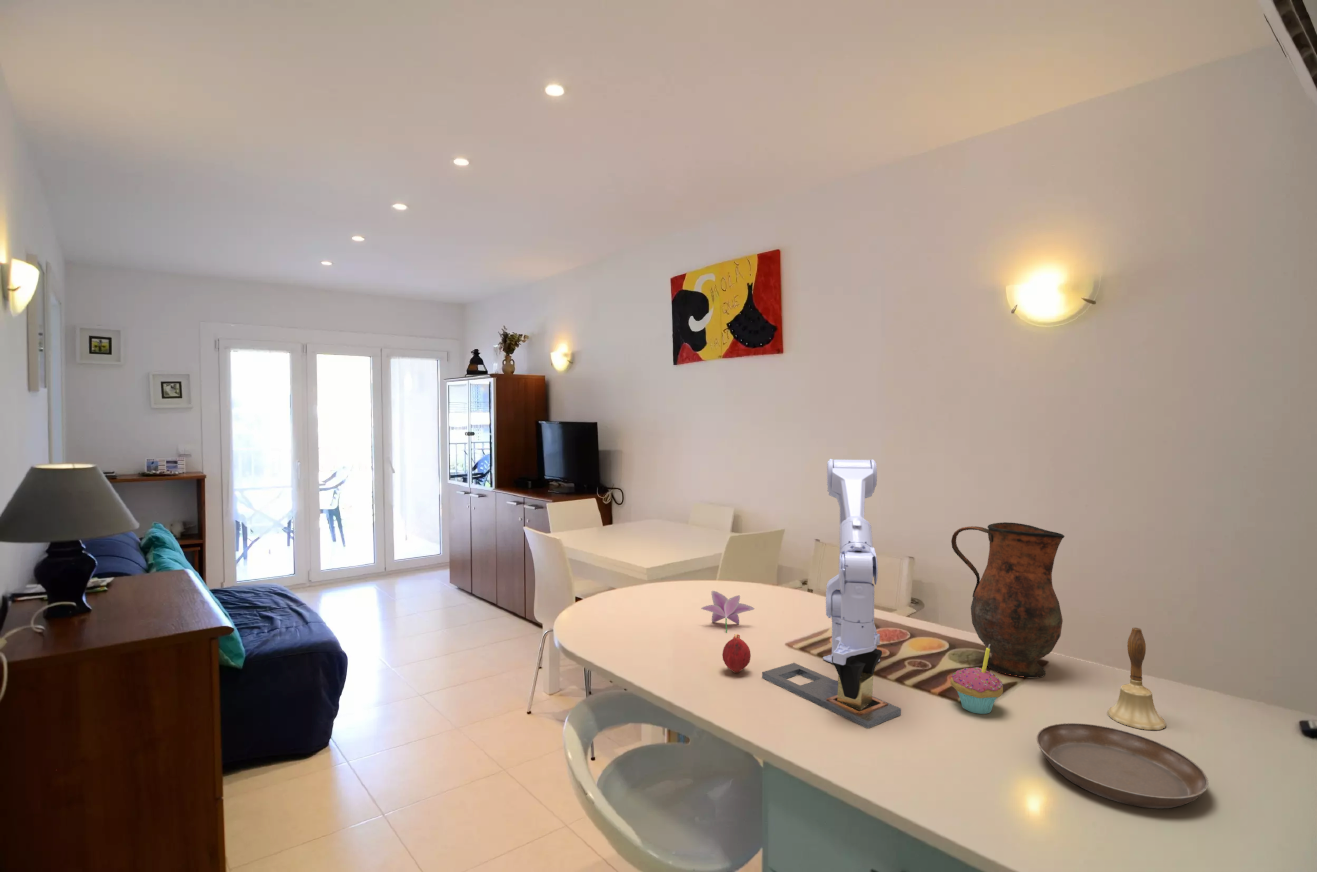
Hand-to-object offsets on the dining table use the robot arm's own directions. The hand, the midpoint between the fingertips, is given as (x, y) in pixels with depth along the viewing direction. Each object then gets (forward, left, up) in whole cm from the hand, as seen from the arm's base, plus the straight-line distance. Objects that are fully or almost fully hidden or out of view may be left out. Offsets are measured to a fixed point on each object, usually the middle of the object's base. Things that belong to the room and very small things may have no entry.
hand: (856, 692), depth 119 cm
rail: (0, -7, -3) cm, 8 cm away
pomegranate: (+7, -25, -3) cm, 26 cm away
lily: (-10, -49, -3) cm, 50 cm away
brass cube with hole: (0, -1, -2) cm, 2 cm away
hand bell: (-37, +30, -3) cm, 48 cm away
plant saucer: (-14, +36, -3) cm, 39 cm away
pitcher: (-42, +4, -3) cm, 42 cm away
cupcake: (-18, +12, -3) cm, 22 cm away
